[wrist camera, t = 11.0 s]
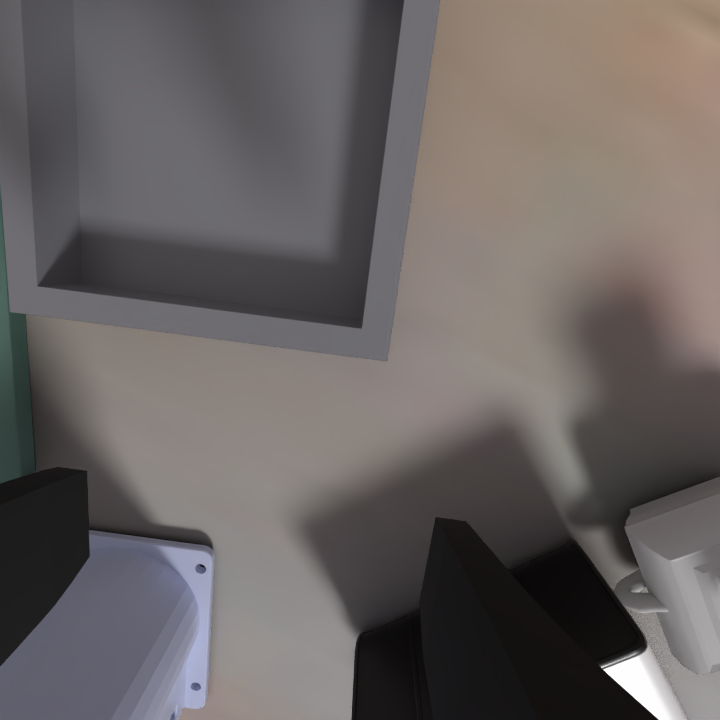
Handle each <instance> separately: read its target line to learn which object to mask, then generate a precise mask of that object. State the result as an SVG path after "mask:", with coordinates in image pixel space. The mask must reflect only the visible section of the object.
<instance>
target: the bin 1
mask: <svg viewBox="0 0 720 720" xmlns="http://www.w3.org/2000/svg"><path fill="white" fill-rule="evenodd" d="M34 472H36V470H35V455H34V440H33V424H32V409H31V394H30V378H29V363H28V347H27V332H26V317H25V314H22V313H14V312H10V306H9V292H8V279H7V265H6V252H5V238H4V225H3V211H2V198H1V184H0V483H3V482H6V481H9V480H13V479H16V478H19V477H22V476H26V475H29V474H32V473H34Z"/></svg>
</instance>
